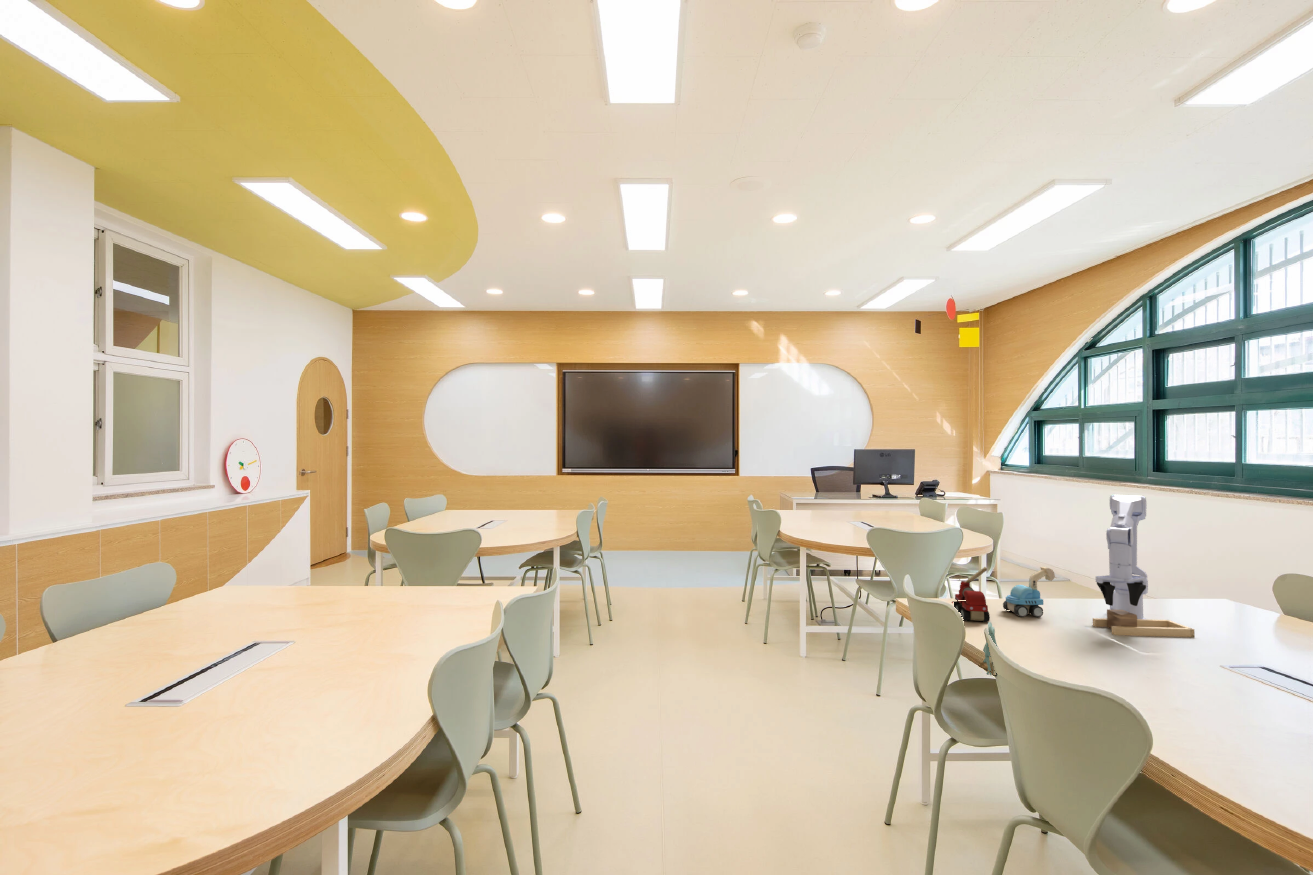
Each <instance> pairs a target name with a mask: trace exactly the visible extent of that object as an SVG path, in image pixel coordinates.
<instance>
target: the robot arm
mask: <svg viewBox="0 0 1313 875" xmlns="http://www.w3.org/2000/svg"><path fill="white" fill-rule="evenodd" d="M1109 510H1110V512H1111V515H1112V519H1111V523H1110V527H1108V528H1106V531H1105V532H1106V534H1105V535H1106V537H1105V538H1106V542H1107V550H1108V560H1109V561H1108V562H1109V564H1108V567H1109V568H1108V569H1109V573H1108V574H1109V575H1107V574H1106V575H1096V576H1095V582H1096V585H1097V586H1098V588H1099V590H1100V591H1101V594H1102V596H1103V599H1104V601H1105V604H1106V605H1108V606H1109V609H1113V610H1125V611H1128V612H1130V613H1133V614H1136V615H1137V619H1147V618H1145V617H1144V596H1145V595H1147V594H1148V592H1149V580H1148V574H1147V572H1146V571H1145V570H1144V569H1142V568H1140V567H1139V566H1138V526H1139V522H1141V521H1143V520H1146V517H1147V497H1146V496H1145V495H1130V494H1127V495H1126V494H1115V493H1113V494H1111V495H1109Z"/></svg>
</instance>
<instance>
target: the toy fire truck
mask: <svg viewBox="0 0 1313 875" xmlns="http://www.w3.org/2000/svg"><path fill="white" fill-rule="evenodd" d="M987 571H988V567H987V566H984V567H982V568H981V569H980V570H978V571H977V572H976V573H974V574H973V575H971V576H970V577H969V578H968V579H966V580H961V581H960V583H959V590H958V593H955V594H954V601H952V602H954V607H955V608H956V609H957V610H958V612H960V613H961V615H962V617H963V619H964V621H965V622H967V621H966V620H969V621H980V622H982V621H989V622H991V621H990V618H991V616H990V612H989V605H988V604H987V600H986V597H985V594H984V593H983V591H981V590H975V589H973V588H972V587H971V585H970V583H972V582H974V580H976V579H977V578H979V577H980V576H981V575H983V574H984V573H985V572H987ZM956 600H957V601H956ZM958 600H966V601H958Z"/></svg>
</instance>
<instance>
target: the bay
mask: <svg viewBox="0 0 1313 875" xmlns="http://www.w3.org/2000/svg"><path fill="white" fill-rule="evenodd" d="M1092 626H1093V627H1101V628H1102V627H1103V628H1104V627H1105V628H1108V627H1107V617H1106V618H1102V617H1101V618H1100V617H1099V618H1097V617H1092ZM1111 635H1113V636H1133V637H1134V636H1137V637H1139V636H1141V637H1180V638H1181V637H1182V638H1195V629H1194V628H1192V627H1189V626H1187V625H1184V624H1181V623H1178V622H1175V621H1173V620H1170V619H1148V618H1146V619H1137V627H1124V626H1112V629H1111Z"/></svg>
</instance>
